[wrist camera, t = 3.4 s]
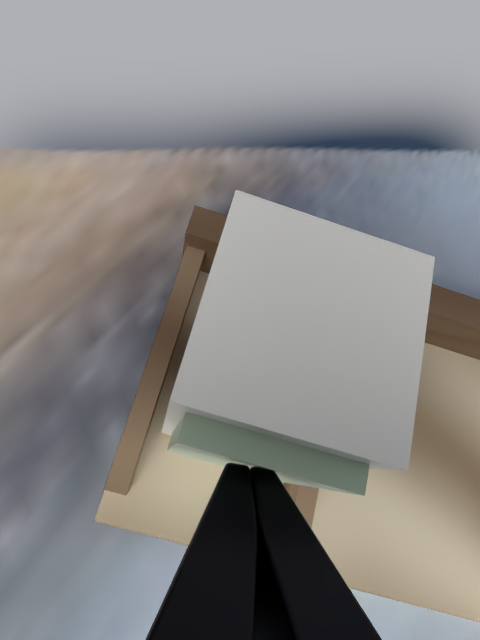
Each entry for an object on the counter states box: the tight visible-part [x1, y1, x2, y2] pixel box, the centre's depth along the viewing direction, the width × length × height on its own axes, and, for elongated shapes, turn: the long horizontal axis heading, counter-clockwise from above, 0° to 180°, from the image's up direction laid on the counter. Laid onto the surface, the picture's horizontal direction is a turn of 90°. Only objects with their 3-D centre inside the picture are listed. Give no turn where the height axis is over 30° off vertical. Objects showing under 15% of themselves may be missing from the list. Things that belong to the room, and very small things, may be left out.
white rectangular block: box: [161, 190, 435, 496], centre depth 11 cm, size 4×4×8 cm
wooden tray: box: [94, 206, 480, 622], centre depth 15 cm, size 10×19×3 cm, turn 75°
